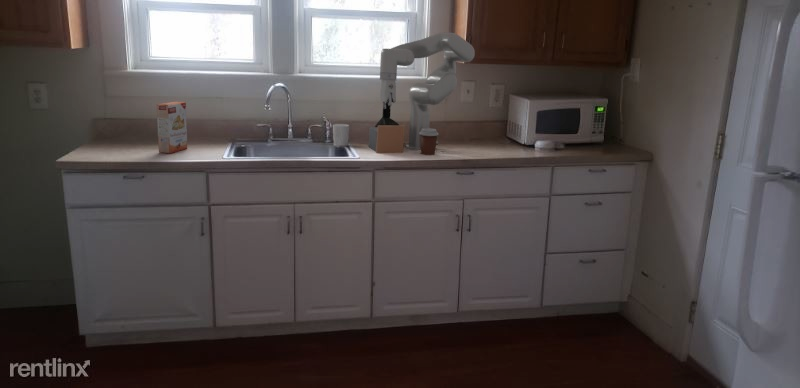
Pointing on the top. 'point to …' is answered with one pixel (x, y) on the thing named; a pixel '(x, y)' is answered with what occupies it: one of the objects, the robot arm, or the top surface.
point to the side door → (390, 139)
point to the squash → (386, 122)
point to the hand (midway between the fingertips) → (386, 117)
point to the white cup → (340, 134)
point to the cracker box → (172, 127)
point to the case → (373, 137)
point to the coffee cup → (428, 141)
